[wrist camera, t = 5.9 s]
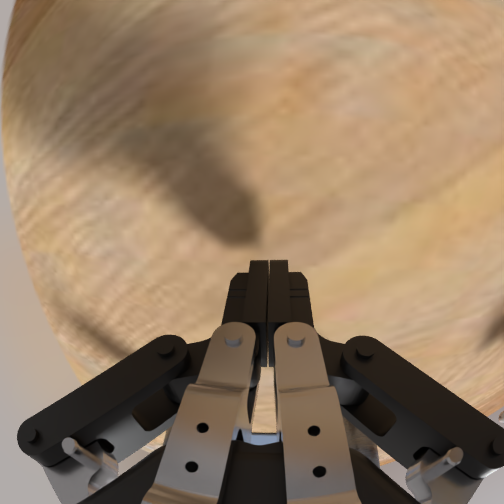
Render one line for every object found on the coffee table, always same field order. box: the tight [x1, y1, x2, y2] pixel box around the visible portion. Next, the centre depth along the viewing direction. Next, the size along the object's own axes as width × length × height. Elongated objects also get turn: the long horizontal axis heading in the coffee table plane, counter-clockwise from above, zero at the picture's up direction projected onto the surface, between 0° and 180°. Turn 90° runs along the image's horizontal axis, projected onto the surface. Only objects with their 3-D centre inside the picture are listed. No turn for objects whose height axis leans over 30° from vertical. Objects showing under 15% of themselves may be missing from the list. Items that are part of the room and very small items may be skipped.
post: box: [342, 416, 380, 468], centre depth 15 cm, size 3×3×9 cm
